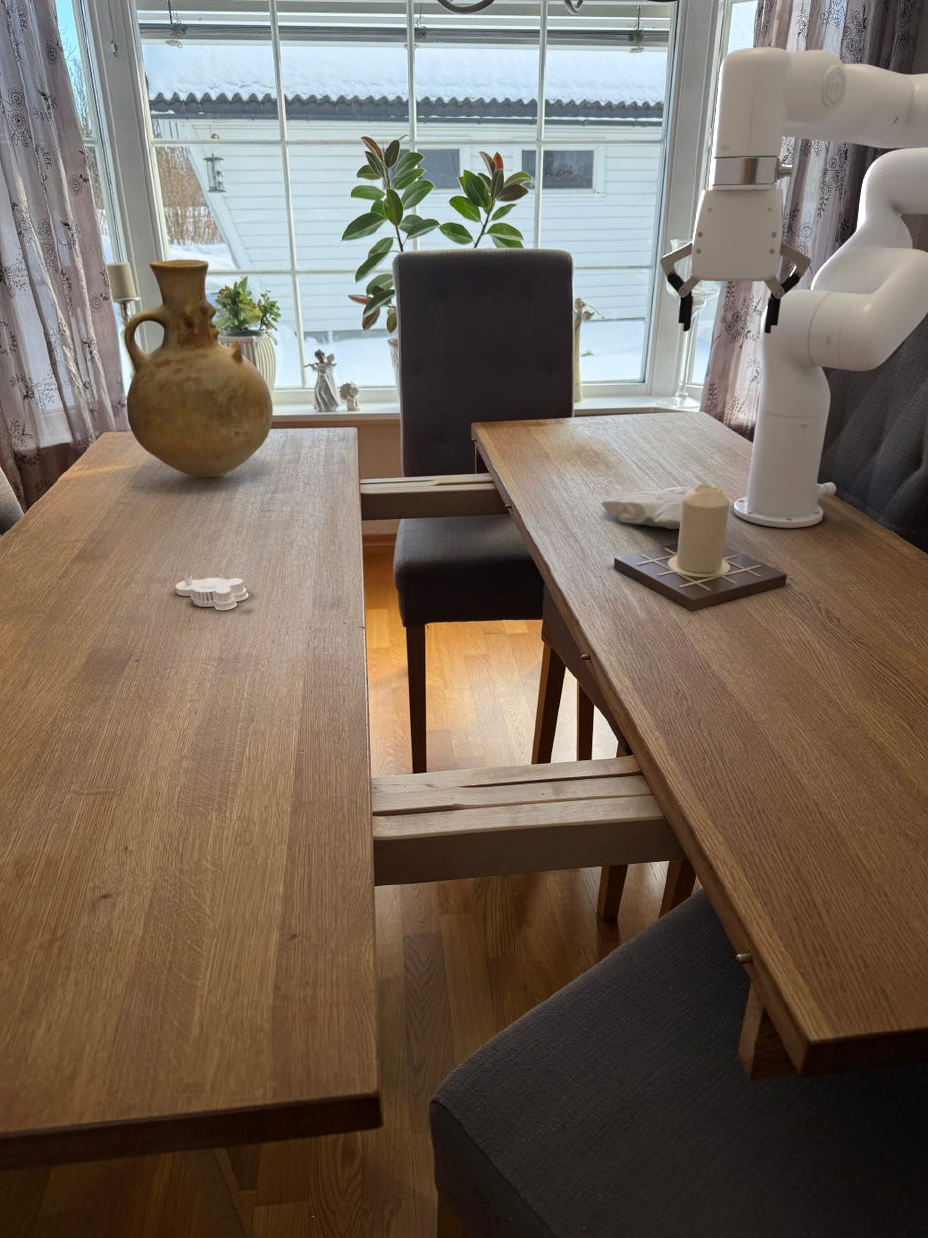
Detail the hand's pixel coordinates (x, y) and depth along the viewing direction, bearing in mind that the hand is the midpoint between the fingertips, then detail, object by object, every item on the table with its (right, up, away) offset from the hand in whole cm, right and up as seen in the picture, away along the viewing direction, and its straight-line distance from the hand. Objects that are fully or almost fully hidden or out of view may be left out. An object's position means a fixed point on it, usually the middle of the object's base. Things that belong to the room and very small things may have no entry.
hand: (726, 330), depth 109 cm
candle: (-3, -29, +2) cm, 29 cm away
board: (-3, -30, +3) cm, 30 cm away
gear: (-63, -33, -1) cm, 71 cm away
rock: (-5, -21, +21) cm, 31 cm away
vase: (-77, -10, +46) cm, 90 cm away
